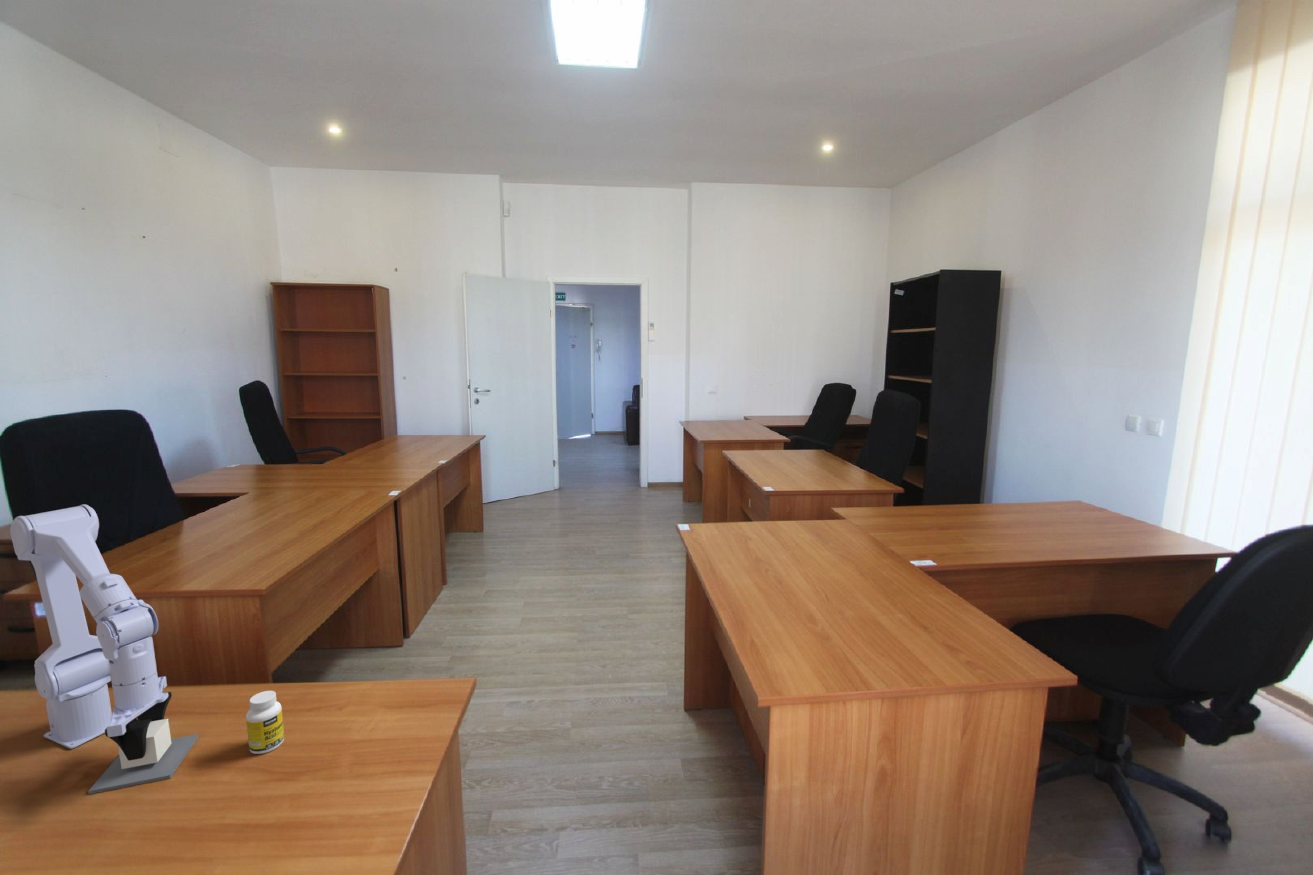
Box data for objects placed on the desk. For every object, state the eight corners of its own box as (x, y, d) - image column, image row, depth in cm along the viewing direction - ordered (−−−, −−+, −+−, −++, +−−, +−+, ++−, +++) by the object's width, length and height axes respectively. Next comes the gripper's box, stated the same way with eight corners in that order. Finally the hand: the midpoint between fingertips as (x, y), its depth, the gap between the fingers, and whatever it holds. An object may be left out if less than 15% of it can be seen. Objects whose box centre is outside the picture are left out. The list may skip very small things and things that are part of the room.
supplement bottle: (266, 757, 101) (261, 707, 99) (242, 752, 102) (236, 703, 100) (291, 737, 106) (287, 689, 104) (268, 733, 107) (262, 686, 105)
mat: (88, 794, 92) (88, 791, 92) (126, 749, 102) (125, 746, 102) (170, 778, 96) (169, 775, 95) (198, 736, 106) (198, 734, 106)
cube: (121, 768, 96) (117, 742, 95) (137, 749, 100) (133, 724, 99) (157, 762, 97) (153, 736, 96) (171, 743, 102) (168, 718, 101)
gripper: (140, 695, 91) (151, 770, 93) (182, 651, 104) (191, 717, 106) (85, 704, 89) (98, 780, 91) (135, 657, 102) (145, 725, 104)
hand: (145, 747), depth 98 cm, fingers closed on cube, 5 cm apart
